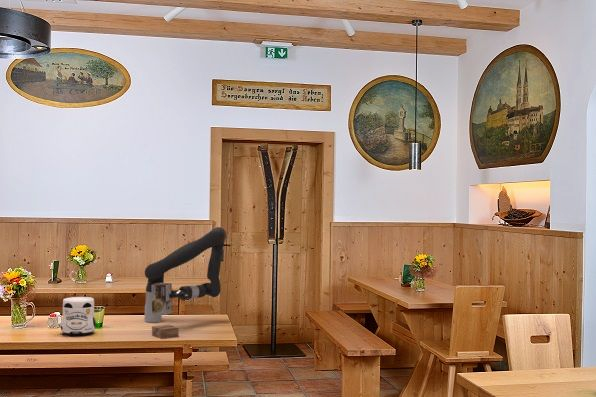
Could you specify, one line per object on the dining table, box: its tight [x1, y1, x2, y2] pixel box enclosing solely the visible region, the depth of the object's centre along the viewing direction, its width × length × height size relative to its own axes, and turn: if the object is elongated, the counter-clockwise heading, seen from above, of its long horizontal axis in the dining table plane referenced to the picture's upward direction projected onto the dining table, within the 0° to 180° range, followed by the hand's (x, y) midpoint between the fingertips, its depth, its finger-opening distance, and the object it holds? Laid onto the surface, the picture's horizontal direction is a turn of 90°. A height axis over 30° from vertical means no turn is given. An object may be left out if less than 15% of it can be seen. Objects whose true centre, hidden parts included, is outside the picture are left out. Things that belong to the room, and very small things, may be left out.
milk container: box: [60, 296, 97, 336], centre depth 368 cm, size 17×17×18 cm
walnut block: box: [151, 324, 180, 340], centre depth 366 cm, size 10×10×5 cm
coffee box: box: [151, 282, 173, 316], centre depth 381 cm, size 9×6×16 cm
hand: (164, 295), depth 382 cm, fingers closed on coffee box, 8 cm apart
